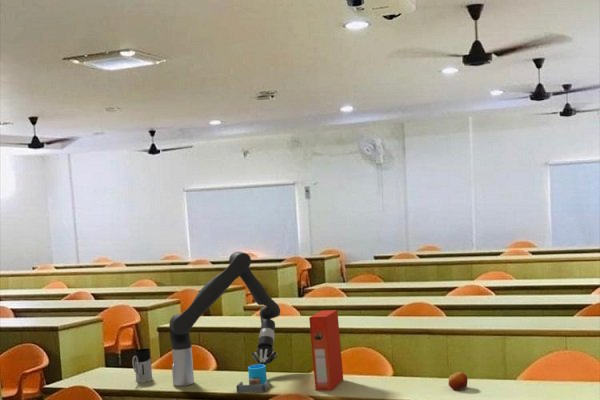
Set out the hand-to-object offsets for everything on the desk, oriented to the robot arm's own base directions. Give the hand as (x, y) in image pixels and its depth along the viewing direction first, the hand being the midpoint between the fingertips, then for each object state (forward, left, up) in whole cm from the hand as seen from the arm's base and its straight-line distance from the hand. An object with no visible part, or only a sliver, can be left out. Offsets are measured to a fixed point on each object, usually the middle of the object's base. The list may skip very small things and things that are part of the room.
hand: (262, 370), depth 309 cm
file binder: (+34, -12, -4) cm, 36 cm away
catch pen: (0, -18, -4) cm, 18 cm away
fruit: (+90, -22, -4) cm, 93 cm away
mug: (0, -6, -4) cm, 8 cm away
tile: (0, -14, -4) cm, 15 cm away
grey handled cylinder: (-63, +2, -4) cm, 63 cm away
